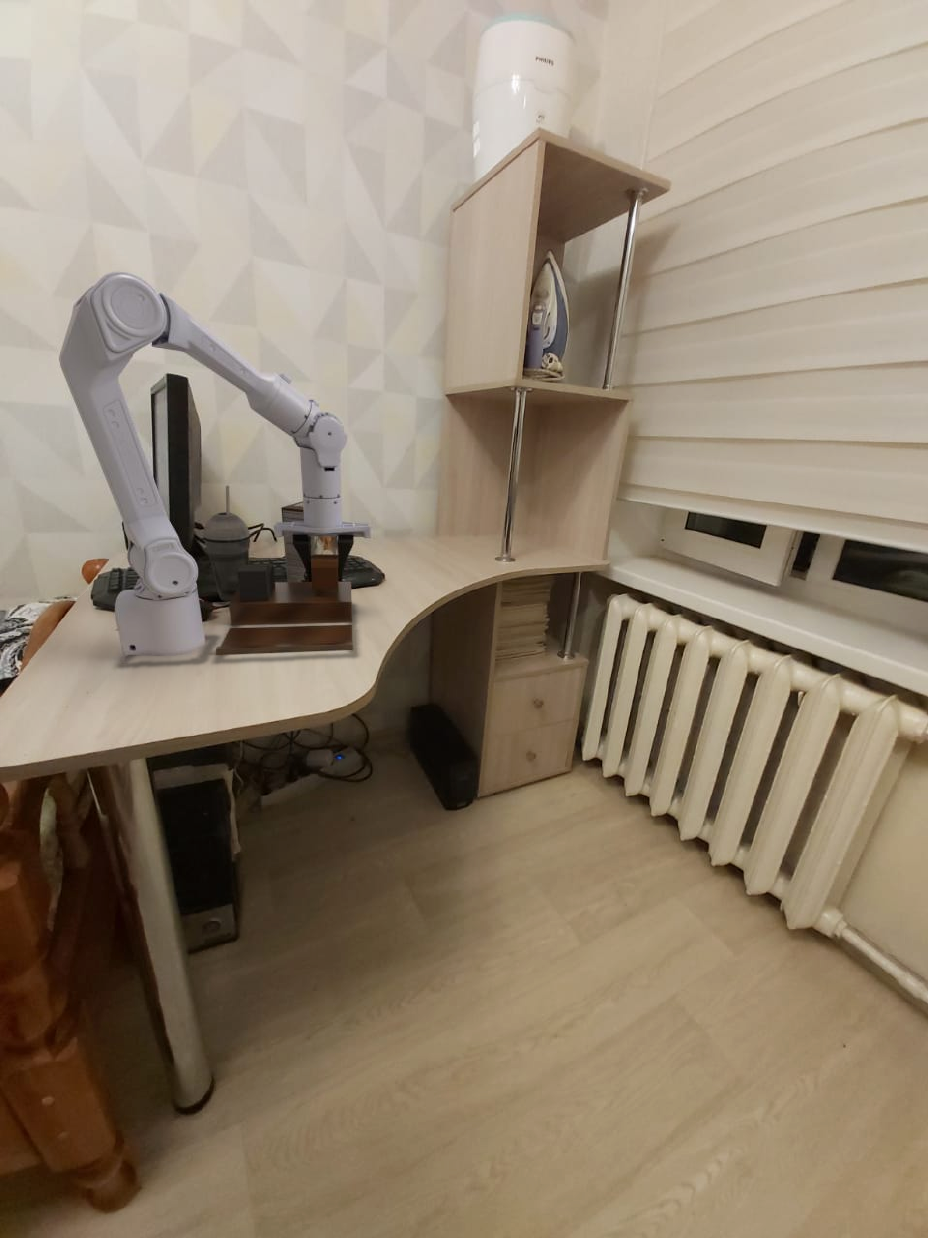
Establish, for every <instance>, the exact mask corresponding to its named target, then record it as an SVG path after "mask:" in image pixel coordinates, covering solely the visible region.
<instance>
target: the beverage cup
mask: <svg viewBox="0 0 928 1238" xmlns="http://www.w3.org/2000/svg"><path fill="white" fill-rule="evenodd" d="M230 500H231V499H230V485H225V511H221V512H217V513H214V514H213V515H211V516H210V517H209V518H208V520H207V521H206V522H205V524H204V528H203V536H202V540H203V541H204V544H205V547H206V550H207V551H208V556H209V560H210V564H211V569H212V572H213V576H214V581H215V585H216V589H217V593H218V596H219V599H220V600H221V601H225V602H230V601H231V600H232V598H233V596H234V595H235V593H236V591H237V589H238V588H239V580H238V572H237V571H238V570H239V568H240V567H241V565H247V564H250V552H249V551H250V547H251V537H252V536H251V534H250V530H249V527H248V525H247V523H246V522H245V521H244V519H242V518H241V517H240V516H239V515H238V514H235V513H233V512H230V511H231V510H230V507H231V506H230V503H231V502H230Z"/></svg>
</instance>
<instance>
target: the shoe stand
mask: <svg viewBox="0 0 928 1238" xmlns="http://www.w3.org/2000/svg"><path fill="white" fill-rule="evenodd" d="M228 607H229V616H230V625H231V626H233V627H230V628H229V630H228V631H227V633H226V635H225V637H224V639H223V641H222V643H221V645H220V646H216V647H215V655H216V656H228V655H230V656H231V655H254V654H255V655H256V654H278V653H280V654H281V653H283V654H284V653H303V652H304V653H307V652H331V651H332V652H333V651H354V642H353V640H354V639H353V624H347V623H353V601H352V581H342V582H339V584H338V589H333V590H312V582H287V581H283V582H281V581H279V582H278V581H277V582H276V581H275V585H274V588H273V591H272V593H271V596H270V598H269V601H241V598H240V589H239V588H238V589H237V591H236V593H235V595H234V596H233V598H232V600H231V601H229V603H228ZM340 623H341V624H340ZM342 623H344V624H342ZM345 623H346V624H345ZM305 624H307V625H305ZM309 624H329V625H309ZM267 625H268V626H267ZM269 625H290V626H269ZM291 625H293V626H291ZM234 626H254V627H234ZM255 626H257V627H255Z"/></svg>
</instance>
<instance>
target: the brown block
mask: <svg viewBox="0 0 928 1238" xmlns="http://www.w3.org/2000/svg"><path fill="white" fill-rule="evenodd" d="M311 575H312V590H333V589H338V584H339V582H338V554H314V555H312V558H311Z"/></svg>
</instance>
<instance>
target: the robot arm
mask: <svg viewBox="0 0 928 1238" xmlns="http://www.w3.org/2000/svg"><path fill="white" fill-rule="evenodd" d="M149 344H151V347H152V348H156V349H163V350H169V351H176V352H182V353H184V354H186V355H188V356H189V357H191V358H192V359H193V360H195V361H196V362H198V363H200V364H201V365H202V366H204V367H206V368H207V369H209V370H210V371H212V372H213V373H214V374H217V375H218V376H219V377H221V378H222V379H223V380H225V381H227V382H228V383H230V384H231V385H232V386H234V387H236V388H237V389H239V390H240V391H242V392H243V393H245V396H246V399H247V402H248V405H249V408H250V409H251V410H252V411H253V412H255V413H257V414H258V415H259V416H261V417H262V418H264V419H265V420H266V421H268V422H270V423H271V424H272V425H274V426H275V427H276V428H277V429H279V430H281V431H283V432H284V434H287V435H288V436H289V437H291V438H292V441H293V442H294V443H295V445H296V446H297V447H298V448H299V454H300V455H299V457H300V475H301V491H302V492H301V493H302V501H303V509H304V521H299V522H282V521H281V522H280V521H275V522H274V524H273V533H274V538H284V536H293V541H292V543H293V546H294V548H295V549H296V551H297V552H298V554H299V556H300V558H301V560H302V562H303V564H304V567H305V570H306V572H307V576H308V581H309V582H312V575H311V558H312V555H311V536H313V537H337V540H338V582H343V576H344V570H345V567H346V563H347V561H348V558H349V555H350V553H351V551H352V549H353V546H354V544H355V543H354V542H355V539H354V538H364V539H371V537H372V528H371V527H372V526H371V523H361V522H350V521H343V512H342V511H343V510H342V509H343V508H342V505H343V503H342V479H341V477H342V476H341V461H342V460H341V459H342V458H341V456H342V452H343V450H344V449H345V447H346V445H347V442H348V433H346V432H345V428H344V425H342V421H341V420H340V419H339V418H338V417H337V416H336V415H335V414H333V413H331V412H326V411H321V410H320V403H319V402H318V401H317V400H315V399H309V397H307V396H305V394H303V393H301V392H300V391H299V390H298V389H297V388H295V387H294V386H293V385H291V383H292V378H290V377H289V376H287V375H286V374H285V373H280V374H278V373H276V372H275V371H266V372H260V371H258V370H257V369H256V368H255V367H254V366H252V365H251V364H250V363H249V362H248V361H247V360H245V359H244V358H243V357H242V356H240V355H239V354H238V353H237V352H236V351H234V350H233V349H232V348H231V347H230V346H228V345H227V344H226V343H225V342H224V341H223V340H222V339H220V338H219V337H218V336H217V335H215V333H214V332H212V331H211V330H210V329H208V328H207V327H206V326H205V325H204V324H202V323H201V322H200V321H199V320H197V318H195V317H194V316H193V315H192V314H191V313H189V311H187V310H186V309H185V308H184V307H183V306H181V305H180V304H179V303H178V302H177V301H176V300H174V299H173V298H171V297H170V296H168V295H167V294H165V293H163V292H160V293H158V291H157V290H156V289H155V288H154V287H153V285H151V284H150V282H148V281H147V280H146V279H144V278H142V277H141V276H139V275H137V274H134V273H132V272H128V271H121V270H117V271H111V272H108V273H106V274H104V275H103V276H102V277H100V278H99V279H98V281H97V282H96V283H95V284H94V285H92V286H91V287H89V288H88V289H87V290H86V291H85V292H84V293H83V294H82V296H80V297H79V298H78V299H77V301H76V302H75V303H74V304H73V306H72V311H71V315H70V319H69V322H68V325H67V329H66V332H65V336H64V339H63V341H62V345H61V348H60V353H59V356H58V361H59V366H60V367H59V368H60V370H61V372H62V374H63V377H64V379H65V382H66V384H67V386H68V389H69V392H70V394H71V396H72V399H73V401H74V404H75V406H76V409H77V411H78V414H79V416H80V419H81V421H82V423H83V427H84V428H85V432H86V433H87V436H88V438H89V440H90V444H91V446H92V448H93V450H94V453H95V456H96V458H97V460H98V463H99V465H100V467H101V470H102V473H103V475H104V477H105V480H106V482H107V485H108V488H109V490H110V493H111V495H112V497H113V501H114V502H115V505H116V507H117V509H118V512H119V515H120V517H121V520H122V522H123V530H124V533H125V535H126V538H127V541H128V542H127V543H128V548H127V552H126V558H127V559H126V560H127V562H128V565H129V567H130V568H131V569H132V570H133V572H135V574H137V575H138V577H139V578H137V581H136V583H135V586H133V589H125V590H121V591H120V592H119V593H118V595H117V597H116V599H115V603H114V618H115V623H116V628H117V632H118V638H119V642H120V646H121V651H122V655H123V658H122V660H121V661H122V662H123V661H124V660H125V659H126V657H127V656H139V655H140V656H141V655H144V656H145V655H149V656H150V655H151V656H152V655H153V656H165V657H167V656H168V657H169V656H170V657H171V656H178V655H183V654H186V653H187V654H188V653H190V652H193V651H195V650H197V649H199V648H201V647H202V646H203V645H204V644H205V643H206V637H205V630H204V623H203V618H202V611H201V605H200V598H199V597H200V596H199V592H198V591H199V590H198V585H197V580H198V577H199V567H198V564H197V562H196V560H195V558H194V557H193V556H192V555H191V554H189V552H187V551H186V549H184V547H183V545H182V542H181V540H180V537H179V536H178V533H177V532H176V530H175V528H174V526H173V525H172V523H171V521H170V518H169V517H168V514H167V512H166V509H165V506H164V503H163V500H162V498H161V494H160V492H159V489H158V487H157V484H156V481H155V478H154V475H153V473H152V470H151V467H150V465H149V461H148V459H147V456H146V453H145V450H144V448H143V445H142V442H141V440H140V436H139V434H138V431H137V429H136V428H137V427H136V426H135V423H134V420H133V417H132V414H131V412H130V408H129V406H128V404H127V400H126V398H125V395H124V392H123V390H122V387H121V384H120V381H119V376H120V375H121V374H122V372H124V371H123V370H125V368H126V367H127V365H128V364H129V362H130V361H131V359H133V357H134V355H135V354H136V353H137V352H138V351H140V350H141V349H143V348H145V347H147V346H148V345H149Z"/></svg>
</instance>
